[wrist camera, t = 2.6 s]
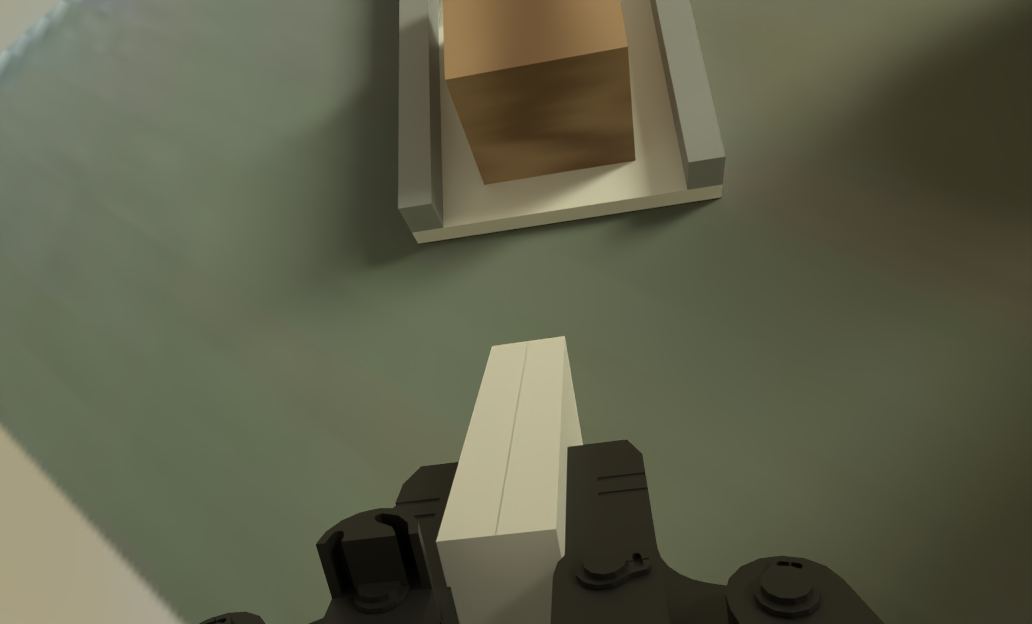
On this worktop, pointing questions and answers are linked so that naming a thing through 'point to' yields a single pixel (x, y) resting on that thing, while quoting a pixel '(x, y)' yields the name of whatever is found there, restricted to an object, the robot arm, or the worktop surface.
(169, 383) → the worktop surface
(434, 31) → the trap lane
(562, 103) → the walnut block
